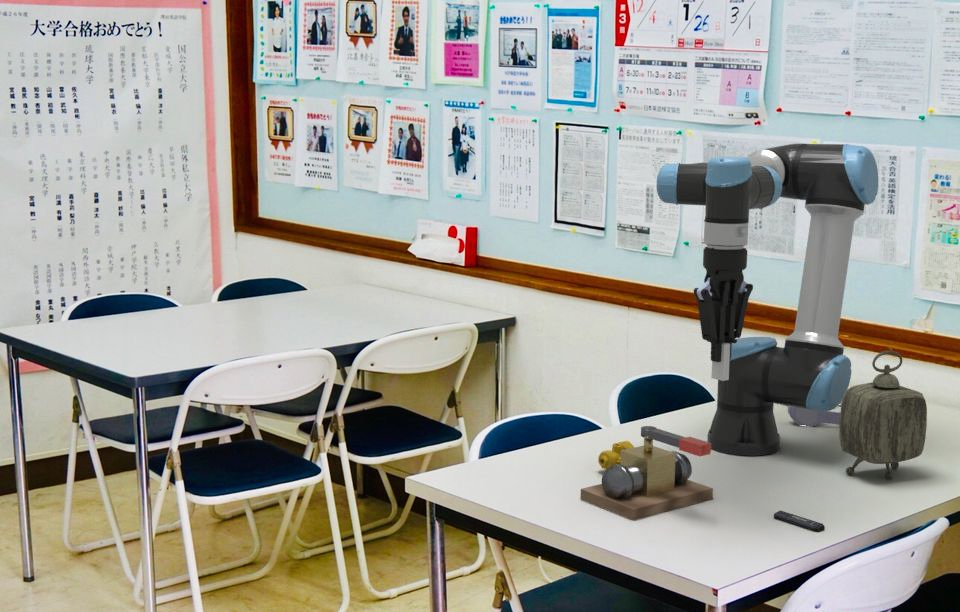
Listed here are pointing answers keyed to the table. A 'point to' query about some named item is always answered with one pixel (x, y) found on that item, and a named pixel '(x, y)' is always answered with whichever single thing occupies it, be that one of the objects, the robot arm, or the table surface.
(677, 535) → the table surface
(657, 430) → the valve lever
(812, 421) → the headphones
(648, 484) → the pipe valve
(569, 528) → the table surface
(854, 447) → the tabletop clock
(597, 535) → the table surface
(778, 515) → the usb stick
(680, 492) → the valve plinth
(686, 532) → the table surface
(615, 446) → the pressure relief valve
